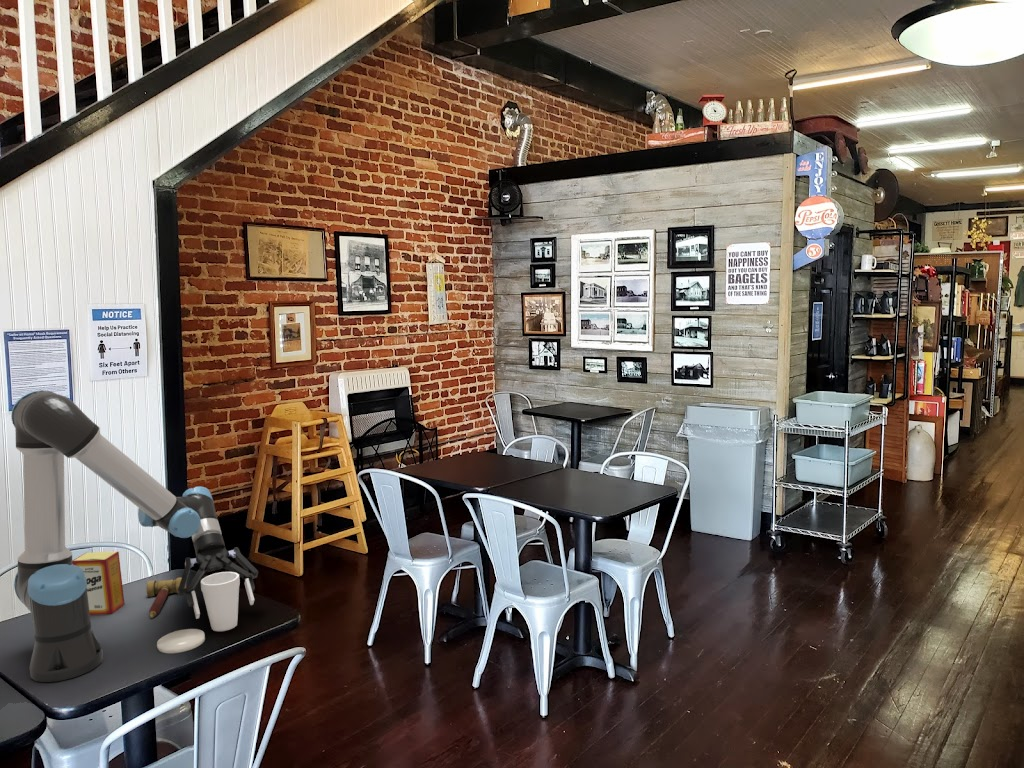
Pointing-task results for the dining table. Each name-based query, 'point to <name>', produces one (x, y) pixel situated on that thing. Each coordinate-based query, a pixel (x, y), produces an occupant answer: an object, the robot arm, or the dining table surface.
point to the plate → (180, 641)
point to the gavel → (161, 592)
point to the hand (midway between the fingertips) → (225, 609)
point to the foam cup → (221, 599)
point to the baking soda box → (102, 581)
